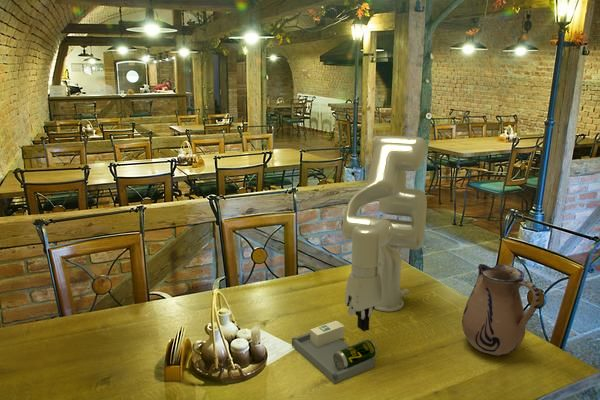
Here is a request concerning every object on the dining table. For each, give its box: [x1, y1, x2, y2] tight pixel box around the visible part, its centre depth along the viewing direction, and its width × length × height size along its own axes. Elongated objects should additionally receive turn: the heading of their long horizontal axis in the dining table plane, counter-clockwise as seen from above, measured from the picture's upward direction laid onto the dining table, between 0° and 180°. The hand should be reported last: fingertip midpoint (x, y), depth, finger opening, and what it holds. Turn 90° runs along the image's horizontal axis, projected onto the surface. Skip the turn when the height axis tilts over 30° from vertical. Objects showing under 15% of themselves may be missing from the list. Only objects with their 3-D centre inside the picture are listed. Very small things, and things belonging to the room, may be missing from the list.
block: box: [309, 320, 345, 347], centre depth 150 cm, size 4×4×10 cm
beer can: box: [333, 339, 378, 370], centre depth 138 cm, size 5×5×12 cm
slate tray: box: [291, 332, 376, 384], centre depth 143 cm, size 14×22×2 cm, turn 32°
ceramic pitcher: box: [461, 263, 541, 357], centre depth 143 cm, size 18×21×25 cm
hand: (363, 328), depth 139 cm, fingers closed
